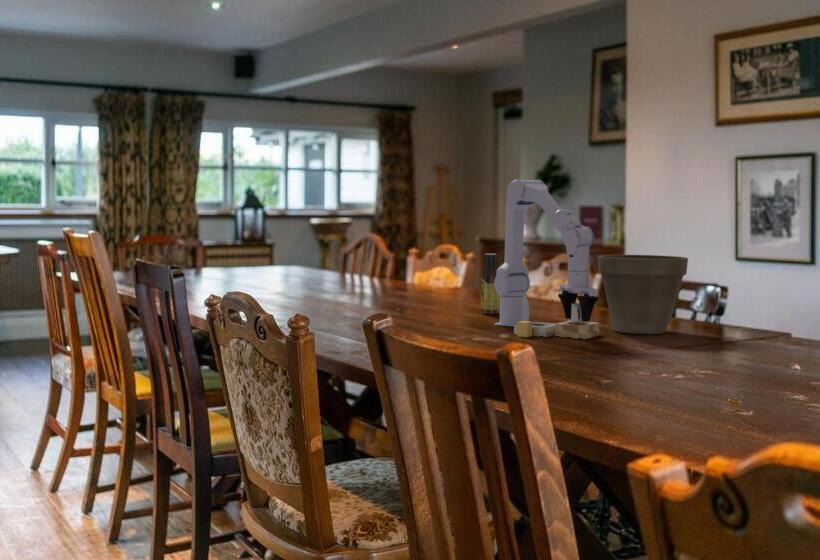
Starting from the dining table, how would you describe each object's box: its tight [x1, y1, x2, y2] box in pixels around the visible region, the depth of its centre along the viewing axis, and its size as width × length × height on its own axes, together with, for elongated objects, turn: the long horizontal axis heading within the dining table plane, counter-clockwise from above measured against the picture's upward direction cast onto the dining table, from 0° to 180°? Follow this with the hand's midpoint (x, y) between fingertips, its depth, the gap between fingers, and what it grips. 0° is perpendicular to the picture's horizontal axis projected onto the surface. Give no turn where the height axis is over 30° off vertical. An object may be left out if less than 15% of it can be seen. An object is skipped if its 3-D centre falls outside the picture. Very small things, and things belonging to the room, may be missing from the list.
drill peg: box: [570, 302, 583, 325], centre depth 263 cm, size 3×3×9 cm
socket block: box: [513, 321, 556, 338], centre depth 267 cm, size 10×10×2 cm
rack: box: [554, 319, 600, 340], centre depth 263 cm, size 9×9×4 cm
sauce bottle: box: [480, 253, 500, 315], centre depth 314 cm, size 6×6×20 cm
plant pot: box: [597, 254, 689, 335], centre depth 271 cm, size 25×25×22 cm
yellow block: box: [516, 320, 533, 338], centre depth 262 cm, size 3×3×4 cm
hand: (577, 320), depth 263 cm, fingers open, 7 cm apart
